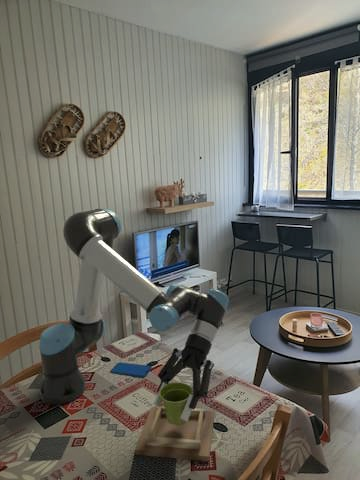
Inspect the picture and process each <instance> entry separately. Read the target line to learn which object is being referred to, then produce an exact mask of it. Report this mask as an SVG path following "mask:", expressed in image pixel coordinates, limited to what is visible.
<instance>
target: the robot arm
mask: <svg viewBox="0 0 360 480" xmlns="http://www.w3.org/2000/svg"><path fill="white" fill-rule="evenodd" d="M121 224H122V223H121V220H120V218H119V217H118V215H117V214H116V213H115V212H114V211H113V210H111V209H108V208H95V209H92V210H87V211H79V212H76V213H73V214H72V215H70V216H69V217H68V218H67V219H66V221H65V223H64V225H63V230H62V231H63V238H64V241H65V243H66V246H68V248H69V250H70V251H72V253H73V254H74V255H75V256H77V258H79V259H80V268H79V273H78V274H79V276H78V282H77V283H78V284H77V291H76V297H75V306H74V308H73V309H72V310H70V313H69V321H68V322H60V323H59V322H58V323H56V324H52V325H50V326H48V327H47V328H46V329H44V330H43V331H42V332H41V334H40V336H39V347H38V348H39V350H40V359H41V365H42V373H43V377H42V382H41V386H40V390H39V391H40V392H39V395H40V399H41V401H42V402H43V403H45V404H47V405H53V406H55V405H64V404H67V403H70V402H72V401H75V400H76V399H78V398H79V397H81V396H82V395H83V394H84V392H85V390H86V381H85V378H84V376H83V374H82V372H81V370H80V369H79V363H78V356H79V355H80V354H81V353H83V352H85V351H86V350H87V349H89V348H90V347H92V346H93V345H94V344H97V342H99V340H101V338H103V336H104V334H105V331H106V321H105V320H104V318H103V315H102V312H101V311H100V310H99V309H100V303H101V294H102V288H103V284H104V277H105V278H107V279H109V281H111V282H112V283H113V284H114V285H115V286H116V287H117V288H119V289H120V290H121V291H122V292H123V293H124V294H126V295H127V296H128V297H129V298H131V300H133V301H134V302H135V303H136V304H137V305H138V306H139V307H140V308H141V309H143V310H144V311H145V312H146V313H147V314H148V320H149V322H150V324H151V327H152V328H153V329H155V330H156V331H159V332H167V331H169V330H170V329H171V328H173V327H174V326H176V325H177V324H178V323H179V321H180V320H181V319H182V318H184V316H186V314H187V313H188V314H190V315H192V316H196V318H195V320H194V323H193V324H192V327H191V329H190V333H189V334H188V336H187V338H186V341H185V342H184V343H185V344H184V347H183V348H182V350H181V349H178V348H177V347H174V349H173V350H172V353H171V355H170V357H169V358H168V359H167V360H166V362H165V364H164V365H163V367H162V368H161V369H160V370H159V373H158V374H157V377H158V378H159V379H160V383H159V385H158V388H157V390H156V392H157V394H156V396H155V399H154V402H153V403H152V405H154V406H155V407H157V406H158V407H161V406H162V404H163V401H162V399H161V397H160V394H159V393H160V390H161V388H162V387H164V386H165V385H167V384H170V383H171V381H172V380H173V379H174V378H175V377H176V376H178V374H179V373H180V372H181V371H183V370H185V369H186V368H189V369H191V371H192V390H193V393H192V395H191V394H190V395H189V398H188V400H187V403H186V405H185V408H184V410H183V413H182V415H181V419H183V420H185V421H188V418H189V416H190V413H191V411H192V409H193V410H194V409H195V408H196V409H197V404H198V402H199V400H200V399H207V397H208V394H209V392H208V391H209V386H210V381H211V374H212V370H213V368H214V367H215V363H214V362H213V361H212V360H210V359H207V356H208V355H209V353H210V351H211V348H212V345H213V344H212V343H213V342H214V341H215V338H216V335H217V333H218V330H219V328H220V326H221V324H222V320H223V319H224V317H225V314H226V311H227V309H228V305H229V303H230V299H229V296H228V295H227V294H226V293H224V292H222V291H221V290H218V289H214V288H211V289H209V290H208V291H207V292H206V293H203V292H200V291H198V290H195V289H193V288H190V287H188V286H186V285H184V284H183V285H182V284H178V283H176V282H175V283H171V284H170V285H169V287H168V288H167V289H166V292H164V291H162V289H160V288H159V287H158V286H157V285H155V284H154V283H153V282H152V281H151V280H149V279H148V278H147V277H146V276H144V274H142V273H141V272H140V271H139V270H137V268H135V267H134V266H133V265H132V264H130V263H129V262H128V261H127V260H126V259H125V258H123V256H121V255H120V254H119V253H118V252H117V251H116V250H115V249H113V245H114V240H115V239H117V238H118V237H119V236H120V233H121V230H122V225H121ZM202 365H203V370H202V367H201V366H202ZM201 373H202V376H201Z"/></svg>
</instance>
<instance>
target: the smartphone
mask: <svg viewBox="0 0 360 480" xmlns="http://www.w3.org/2000/svg"><path fill="white" fill-rule="evenodd" d="M152 368H153V367H152V366H151V365H145V364H137V363H129V362H128V363H127V362H122V361H121V362H118V363H116V364H115V365H114V366H113V367H112V368H111V369H110V371H109V373H111V374H118V375H123V376H128V377H129V376H130V377H134V378H136V377H137V378H146V377H147V376H148V374H149V373H150V372H151V370H153V369H152Z"/></svg>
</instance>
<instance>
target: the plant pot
mask: <svg viewBox="0 0 360 480" xmlns="http://www.w3.org/2000/svg"><path fill="white" fill-rule="evenodd" d="M192 393H193V387H192V386H190V385H189V384H187V383H185V382H180V381H178V382H177V381H176V382H169V384H167V385H165V386H164V387H162V388H161V390H160V393H159V394H160V397H161V399H162V401H163V402H162V404H163V406H164V407H165V411H166V416H167V420H168V422H169V423H170V424H174V425H176V426H178V425H183V424H185V423H186V422H187V421H185V420H183V419H181V415H182V413H183V410H184V408H185V405H186V403H187V400H188V398H189V395H190V394H191V395H192Z"/></svg>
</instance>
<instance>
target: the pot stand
mask: <svg viewBox="0 0 360 480" xmlns="http://www.w3.org/2000/svg"><path fill="white" fill-rule="evenodd" d="M214 422H215V411H214V410H206V408H197V407H196V408H195V409H194V410H193V409H192V411H191V413H190V416H189V418H188V421H187V422H186V423H185V424H183V425H178V426H176V425H174V424H170V423H169V422H168V420H167V416H166V411H165V407H164V405H161V407H158V406H151V407H150V410H149V412H148V414H147V417H146V420H145V422H144V425H143V428H142V431H141V434H140V436H139V439H138V441H137V444H136V446H135V449H134V452H135V456H148V457H157V458H158V457H159V458H167V459H168V458H169V459H179V460H181V459H182V460H191V461H200V462H201V461H202V462H210V461H211V460H210V458H211V450H212V441H213V431H214Z"/></svg>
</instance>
